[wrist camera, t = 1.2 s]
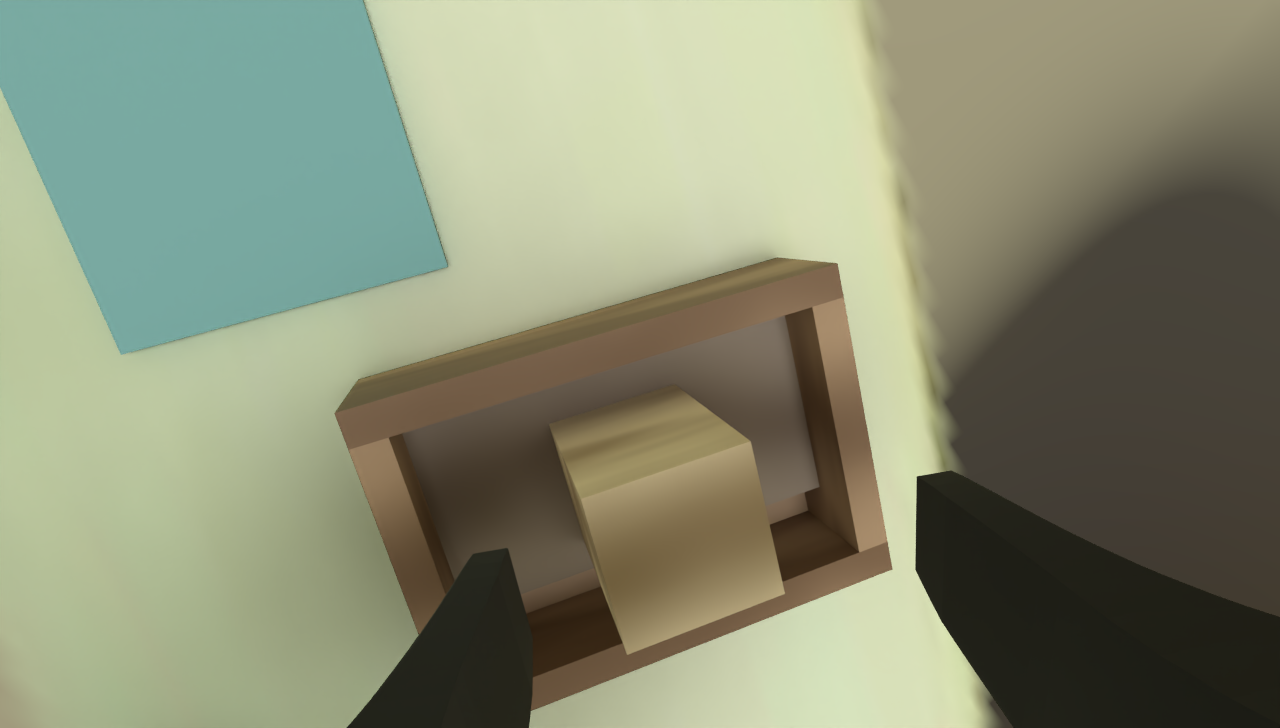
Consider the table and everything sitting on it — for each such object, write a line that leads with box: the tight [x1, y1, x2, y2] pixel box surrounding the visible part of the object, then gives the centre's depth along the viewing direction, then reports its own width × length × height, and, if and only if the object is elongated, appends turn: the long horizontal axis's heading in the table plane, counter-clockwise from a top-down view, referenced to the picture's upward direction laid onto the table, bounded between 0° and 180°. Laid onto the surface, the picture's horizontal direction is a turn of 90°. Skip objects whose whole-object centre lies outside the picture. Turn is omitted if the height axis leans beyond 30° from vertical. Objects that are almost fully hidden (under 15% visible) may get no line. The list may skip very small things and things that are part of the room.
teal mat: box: [0, 0, 448, 355], centre depth 19 cm, size 9×9×1 cm
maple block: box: [549, 384, 785, 655], centre depth 19 cm, size 4×4×6 cm
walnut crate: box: [335, 258, 892, 711], centre depth 22 cm, size 10×14×4 cm
